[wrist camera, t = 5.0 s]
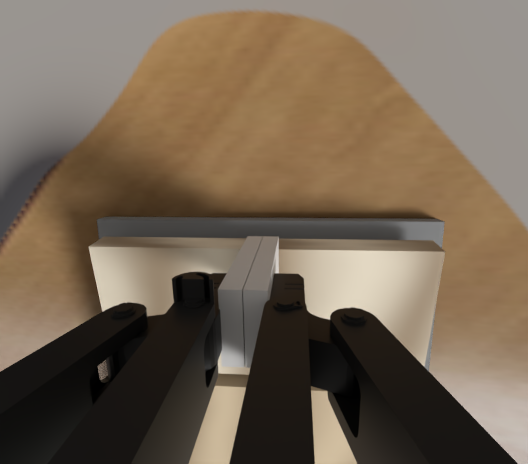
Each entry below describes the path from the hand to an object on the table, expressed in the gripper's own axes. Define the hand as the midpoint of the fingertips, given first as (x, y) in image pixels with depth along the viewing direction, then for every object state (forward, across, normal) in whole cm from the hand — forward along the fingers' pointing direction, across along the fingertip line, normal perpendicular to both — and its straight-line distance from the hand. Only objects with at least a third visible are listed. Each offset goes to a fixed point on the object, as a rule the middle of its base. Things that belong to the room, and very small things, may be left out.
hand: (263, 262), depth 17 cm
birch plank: (+2, 0, -3) cm, 4 cm away
